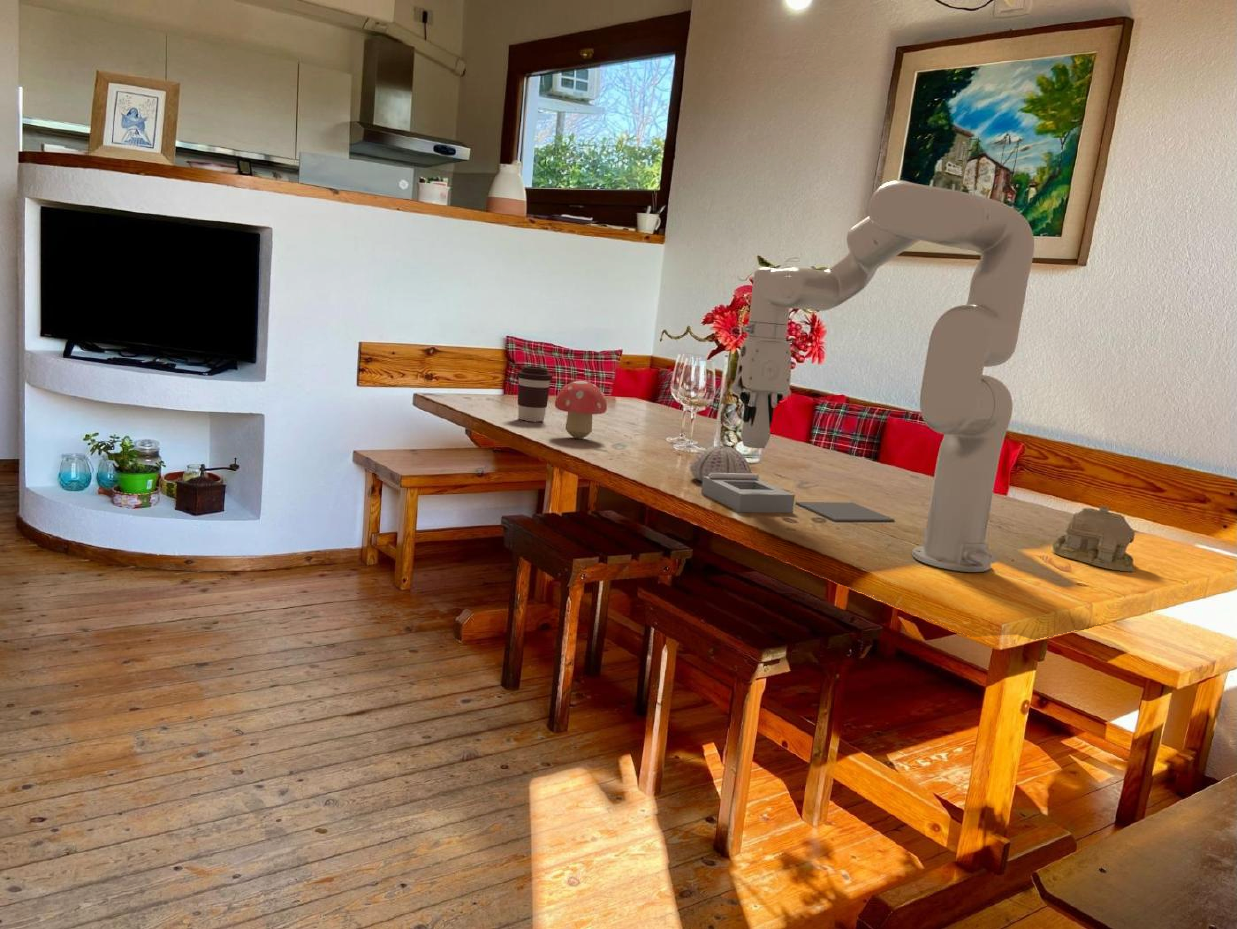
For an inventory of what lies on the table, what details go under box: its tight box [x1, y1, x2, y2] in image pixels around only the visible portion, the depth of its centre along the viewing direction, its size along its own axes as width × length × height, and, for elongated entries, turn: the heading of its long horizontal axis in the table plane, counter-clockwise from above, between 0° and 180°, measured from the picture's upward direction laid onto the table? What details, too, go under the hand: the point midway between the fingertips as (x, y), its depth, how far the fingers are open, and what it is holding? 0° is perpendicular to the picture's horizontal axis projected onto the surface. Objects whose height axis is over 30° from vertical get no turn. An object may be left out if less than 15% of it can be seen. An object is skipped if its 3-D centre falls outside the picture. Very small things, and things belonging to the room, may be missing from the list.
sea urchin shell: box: [689, 445, 753, 482], centre depth 219 cm, size 13×14×8 cm
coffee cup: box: [516, 365, 553, 422], centre depth 281 cm, size 10×10×15 cm
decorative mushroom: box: [554, 380, 608, 440], centre depth 258 cm, size 13×13×15 cm
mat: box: [794, 501, 896, 522], centre depth 200 cm, size 14×14×1 cm
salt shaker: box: [740, 391, 771, 449], centre depth 197 cm, size 6×6×13 cm
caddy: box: [700, 473, 796, 513], centre depth 200 cm, size 16×12×5 cm
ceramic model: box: [1052, 506, 1136, 572], centre depth 180 cm, size 14×11×10 cm
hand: (756, 425), depth 198 cm, fingers closed on salt shaker, 3 cm apart
